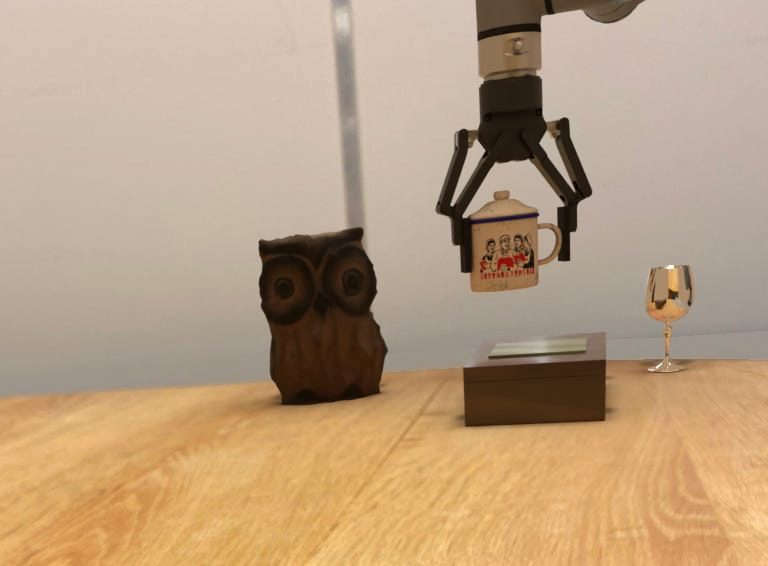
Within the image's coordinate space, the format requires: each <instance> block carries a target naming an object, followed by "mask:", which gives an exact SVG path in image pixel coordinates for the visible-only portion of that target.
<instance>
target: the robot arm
mask: <svg viewBox="0 0 768 566" xmlns="http://www.w3.org/2000/svg"><path fill="white" fill-rule="evenodd" d="M645 1H646V0H475V15H476V18H475V19H476V41H477V42H476V43H477V44H476V45H477V49H476V50H477V77H478V78H479V79H480V80H481V81H483V83H481V84H480V85H479V87H478V106H479V108H478V109H479V125H478V128H477V129H467V128H461V129H457V130H456V131H455V132H454V137H453V138H454V139H453V142H454V143H453V154H452V157H451V159H450V163H449V164H448V169H447V171H446V175H445V177H444V181H443V184H442V187H441V190H440V193H439V196H438V199H437V202H436V205H435V209H434V210H435V211H434V212H435V213H436V214H437V215H439V216H444V217H447V218H449V221H450V233H451V234H450V236H451V243H452V246H454V247H458V246H459V259H460V260H459V261H460V262H459V263H460V273H461V274H462V273H463V274H470V273H472V266H471V242H470V218H467V217H464V214H465V212H466V211H467V209H468V207H469V206H470V204H471V202H472V201H473V199H474V198H475V196H476V194H477V193H478V191H479V189H480V188H481V186H482V184H483V182H484V181H485V180H486V177H487V176H488V174H489V173H490V171H491V170H492V169H493V167H494V165H496V164H497V165H500V164H508V163H511V162H515V163H518V162H524V161H525V162H526V161H528V160H529V162H530V163H531V164H532V165H534V167H535V168H536V169H537V171H538V172H539V173H540V175H541V176H542V178H543V179H544V180H545V182H547V184H548V185H549V187H550V188H551V189H552V190H553V192H554V193H555V194H556V195H557V197H558V198H559V200H560V201H561V202H562V204H563V206H557V207H556V224H557V225H556V226H557V227H558V228H559V229H560V231H561V233H562V246H561V249H560V251H559V253H558V255H557V262H564V263H565V262H571V233H576V232H577V229H578V206H579V204H580V202H582V201H583V200H586V199H588V198H591V197H592V195H593V188H592V186H591V184H590V181H589V179H588V176H587V174H586V171H585V169H584V167H583V165H582V162H581V160H580V157H579V154H578V153H577V149H576V147H575V145H574V142H573V140H572V138H571V127H570V126H571V125H570V120H569V118H568V117H567V116H564V117H560V118H558V119H555V120H550V121H546V120H545V118H544V114H543V113H544V111H543V109H544V108H543V107H544V104H543V101H544V100H543V99H544V98H543V78H541V76H540V75H538V73H539V72H540V71H542V68H543V65H542V64H543V63H542V62H543V59H542V57H543V56H542V17H543V16H553V15H556V14H561V13H563V14H564V13H569V12H576V11H580V10H581V11H582V12H583V13H584V15H585V16H586V17H587V18H589V19H590V20H591V21H593V22H595V23H600V24H603V25H604V24H608V25H609V24H615V23H618V22H620V21H623V20H624V19H626V18H628V17H629V16H630V15H631V14H632V13H633V12H634V11H635V10H636V9H637V7H638V6H639V5H641V3H644V2H645ZM546 133H547V134H548V135H549V137H550V139H552V140H554V143H555V146H556V148H557V151H558V153H559V156H560V158H561V161H562V164H563V166H564V168H565V171H566V173H567V175H568V178H569V181H570V182H571V185H572V186H571V185H570V184H569V183H568V182H567V181H566V179H565V178H564V175H562V173H561V172H560V171H559V170H558V169H557V167H556V166H555V164H554V163H553V161H552V160H551V159H550V158H549V155H548V153H547V152H546V150H545V149H544V148H543V146H542V145H541V141H542V140H543V138H544V136H545V135H546ZM476 140H477V141H478V144H480V146H481V148H482V149H484V152H483V154H482V156H481V157H480V159H479V160H478V163H477V165H476V167H475V168H474V170H473V172H472V174H471V175H470V176H469V178H468V180H467V182H466V184H465V186H464V187H463V188H462V191H460V194H459V195H458V197H457V199H456V201H455V202H454V204H453V205H452V202H453V199H454V196H455V192H456V191H457V190H456V189H457V186H458V183H459V181H460V177H461V175H462V172H463V169H464V166H465V163H466V160H467V156H468V152H469V149H472V147H473V146H474V143H475V142H476ZM572 187H573V188H572Z"/></svg>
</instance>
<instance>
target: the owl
mask: <svg viewBox="0 0 768 566" xmlns="http://www.w3.org/2000/svg"><path fill="white" fill-rule="evenodd" d="M364 231H365V229H364V228H363V227H362V226H356V227H350V228H346V229H342V230H338V231H328V232H321V233H317V234H316V233H315V234H299V233H296V234H294V235H289V236H285V237H283V238H281V237H280V238H279V237H277V238H275V239H271V240H266V239H263V238H260V239H259V240H258V256H259V258H260V261H261V272H260V275H259V278H258V288H259V289H258V290H259V291H258V292H259V297H260V299H261V301H260V309H261V311H262V312H263V315H264V317H265V319H266V321H267V324H268V327H269V332H270V336H271V340H270V347H269V375H270V379H271V380H272V382H273V383H274V385H275V386H276V388H277V389H278V392H279V393H280V396H281V402H280V404H281V405H285V406H286V405H288V406H289V405H291V406H293V405H296V406H297V405H298V406H300V405H301V406H302V405H303V406H304V405H314V404H315V405H316V404H319V403H332V402H338V401H345V400H347V401H349V400H350V401H351V400H356V399H360V398H365V397H368V396H371V395H376V394H380V393H381V389H380V384H381V382H382V375H383V372H384V366H385V361H386V356H387V354H388V353H389V348H388V346H387V344H386V341H385V339H384V337H383V334H382V333H381V326H380V325H379V323H378V322H377V321H376V320H375V318H374V312H372V311H371V307H372V305H373V302H374V300H375V298H376V296H377V295H378V293H379V292H378V288H377V286H378V278H377V275H376V272H375V268H374V263H373V262H372V260H371V259H370V257H369V255H368V253H367V252H366V250H365V248H364V247H363V242H362V241H363V238H364V233H365V232H364Z"/></svg>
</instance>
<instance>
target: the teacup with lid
mask: <svg viewBox="0 0 768 566" xmlns="http://www.w3.org/2000/svg"><path fill="white" fill-rule="evenodd" d="M510 195H511V192H510V190H508V189H506V190H497V191H494V193H493V200H491V201H488V202H486V203H485V204H484V205H482V207H481V208H479V209H478V210H477V211H475V212H473V213H471V214H469V215H468V216H467V217H466V218H470V242H471V266H472V273H469V284H470V286H469V287H470V290H471V291H472V292H474V293H497V292H506V291H507V292H508V291H516V290H523V289H528V288H534V287H536V286H538V285H539V282H540V279H539V278H540V276H539V275H540V273H539V272H540V269H539V266H544V265H548V264H550V263H551V262H554V260H555V259H556V258H557V257H558V253H559V251H560V249H561V246H562V233H561V231H560V229H559V228H558V227H557V225H556V224H554V223H551V222H542V223H539V222H538V221H539V220H538V217H539V216H540V212H539V209H538V208H537V207H534V206H530V205H527V204H525V203H523V202H522V201H521V200H519V199H516V198H510V197H511V196H510ZM544 229H547V230H551V231H552V232H553V233H554V236H555V243H554V244H555V245H554V247H553V250H551V253H550V254H549V255H548V256H547V257H545V258H542V259H539V230H544Z"/></svg>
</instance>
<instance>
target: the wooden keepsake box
mask: <svg viewBox="0 0 768 566" xmlns="http://www.w3.org/2000/svg"><path fill="white" fill-rule="evenodd" d="M462 377H463V408H464V409H463V410H464V426H465V427H475V426H477V427H478V426H498V425H499V426H500V425H522V424H523V425H525V424H545V423H547V424H549V423H569V422H572V423H573V422H593V421H606V400H607V399H606V397H607V396H606V395H607V392H606V388H607V386H606V385H607V334H606V331H601V332H600V331H599V332H583V333H567V334H566V333H565V334H554V335H553V334H552V335H539V336H538V335H537V336H522V337H508V338H507V337H506V338H491V339H484V340H483V341H482V343H481V344H480V345H479V347H478V348H477V349H476V350H475V351H474V353H473V354H472V356H471V357H470V358H469V360H467V362H466V363H465V364H464V366H463V368H462Z"/></svg>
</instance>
